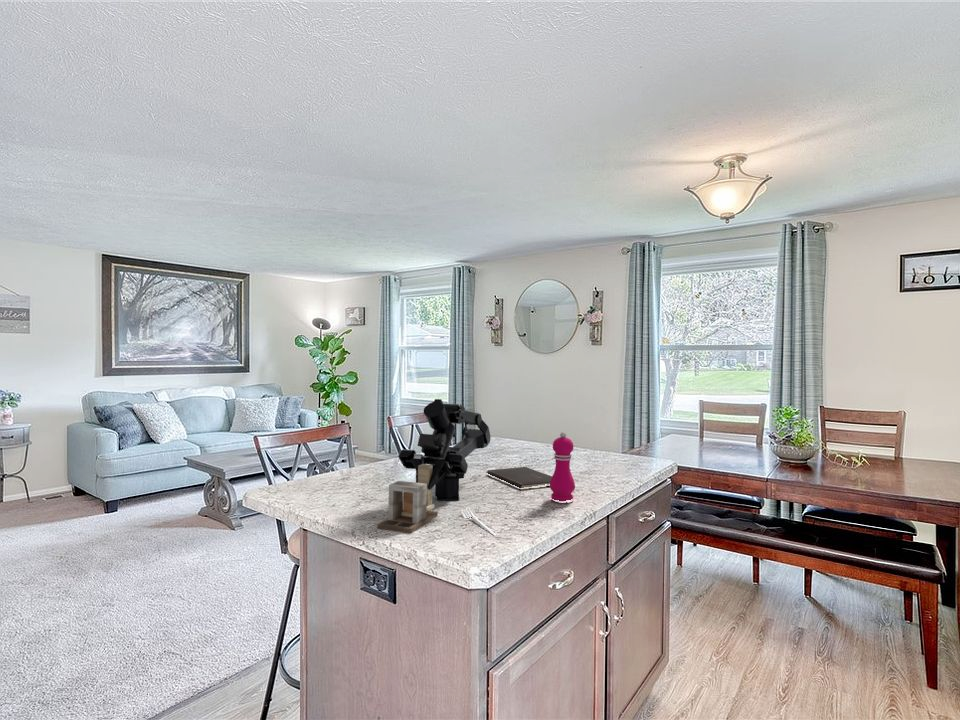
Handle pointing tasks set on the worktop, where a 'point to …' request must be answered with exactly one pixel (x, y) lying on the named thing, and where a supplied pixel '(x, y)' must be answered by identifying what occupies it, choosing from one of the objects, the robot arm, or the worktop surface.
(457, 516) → the worktop surface
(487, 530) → the fork
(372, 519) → the worktop surface
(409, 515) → the beige orange stepped block
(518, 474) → the hardcover book
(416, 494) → the tunnel
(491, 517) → the worktop surface
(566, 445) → the pepper mill
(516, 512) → the worktop surface
